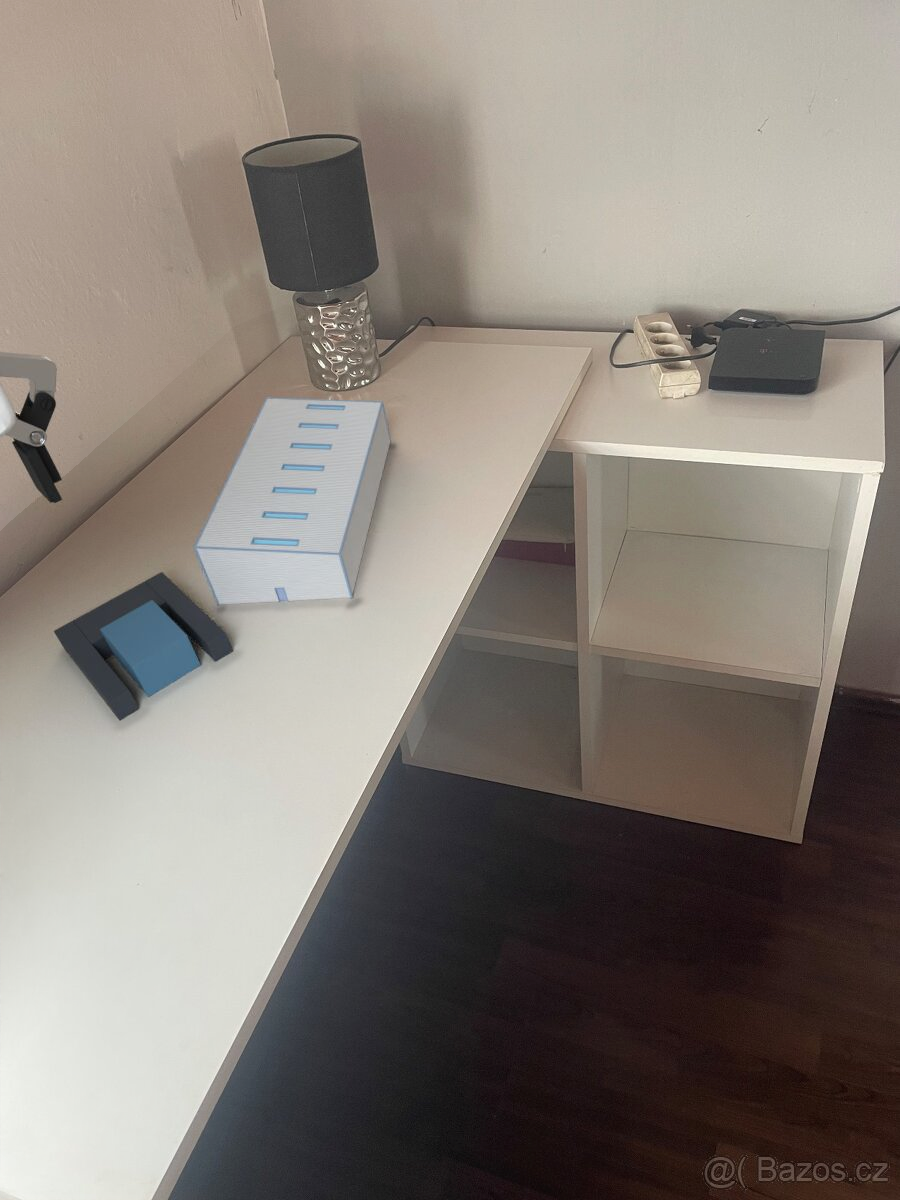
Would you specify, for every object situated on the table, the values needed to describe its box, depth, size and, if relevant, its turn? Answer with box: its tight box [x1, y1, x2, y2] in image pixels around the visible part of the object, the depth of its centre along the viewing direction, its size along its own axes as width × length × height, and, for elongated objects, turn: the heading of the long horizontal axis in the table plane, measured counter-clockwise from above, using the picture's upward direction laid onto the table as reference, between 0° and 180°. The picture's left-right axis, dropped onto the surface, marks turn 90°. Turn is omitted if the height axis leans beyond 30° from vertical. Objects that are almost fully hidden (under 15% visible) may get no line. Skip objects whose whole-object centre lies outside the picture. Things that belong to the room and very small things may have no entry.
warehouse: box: [193, 396, 392, 606], centre depth 97 cm, size 30×14×8 cm, turn 175°
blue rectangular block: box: [100, 600, 201, 698], centre depth 83 cm, size 6×8×4 cm
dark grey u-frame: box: [53, 571, 234, 721], centre depth 85 cm, size 12×14×2 cm
